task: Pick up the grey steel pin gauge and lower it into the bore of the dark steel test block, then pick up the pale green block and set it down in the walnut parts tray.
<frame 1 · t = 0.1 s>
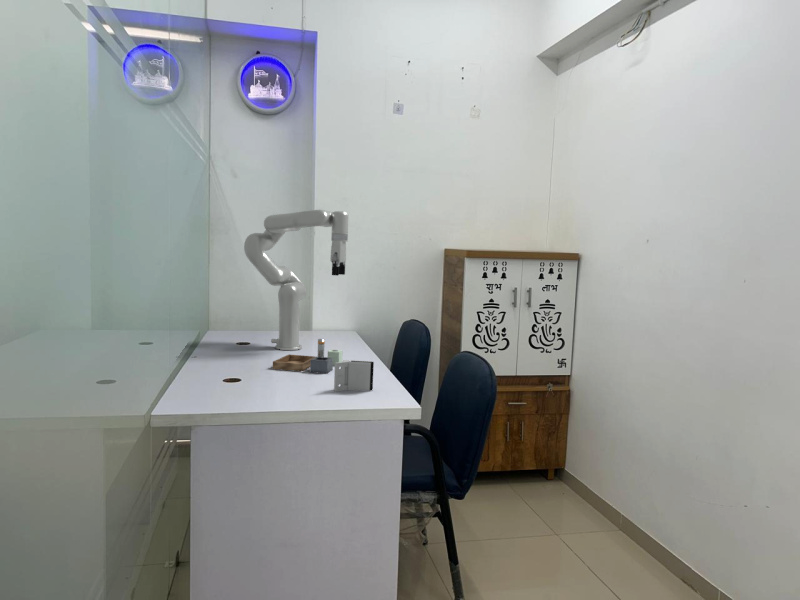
hand: (338, 274, 265), 37 cm above the table, tool pointing down, fingers open, 9 cm apart
hinge: (352, 390, 199), on the table
tray: (295, 366, 234), on the table
test block: (321, 371, 227), on the table
pin gauge: (320, 362, 243), on the table
pale green block: (334, 364, 240), on the table
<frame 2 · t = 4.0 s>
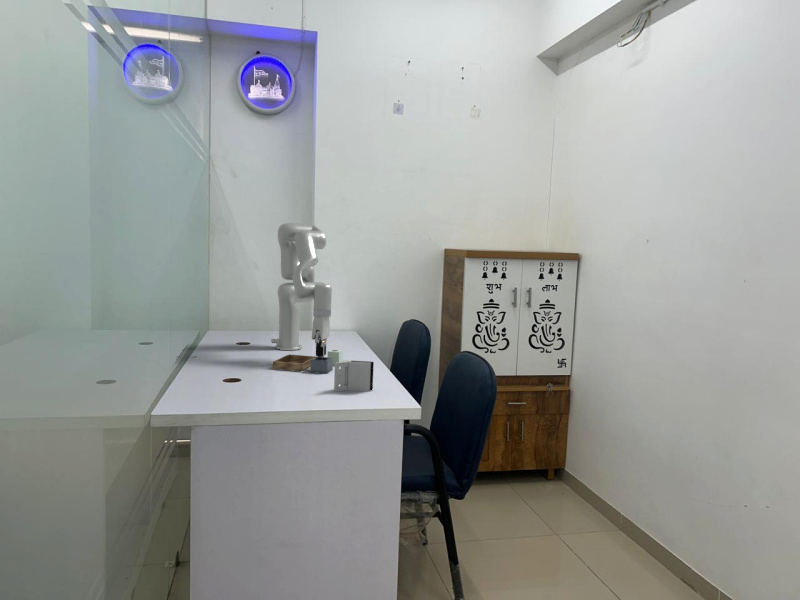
hand: (320, 355, 243), 3 cm above the table, tool pointing down, fingers closed on pin gauge, 2 cm apart
pin gauge: (320, 362, 243), on the table, touching gripper
everything else where it was.
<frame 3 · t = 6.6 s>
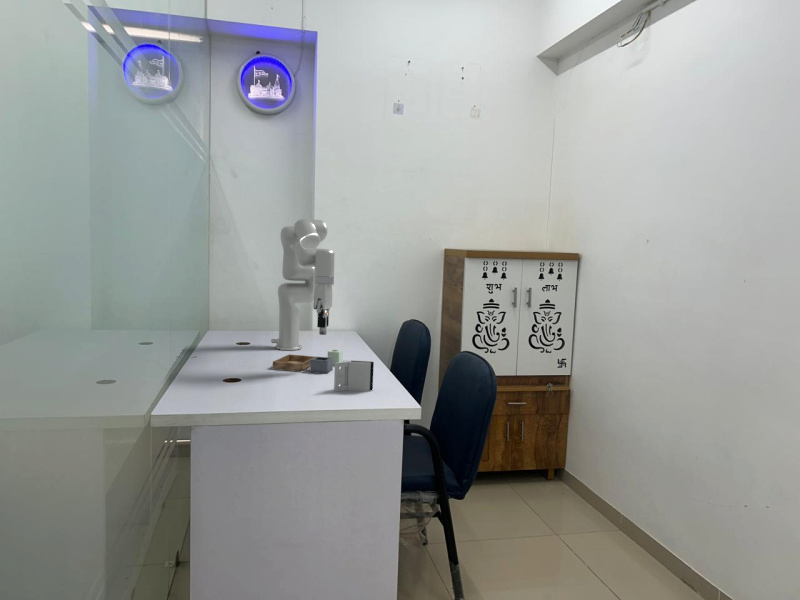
hand: (322, 326, 225), 18 cm above the table, tool pointing down, fingers closed on pin gauge, 2 cm apart
pin gauge: (322, 334, 225), point 15 cm above the table, touching gripper
everything else where it was.
when the fingers open (6 cm above the table, at t = 9.5 s): pin gauge drops 2 cm, resting in test block.
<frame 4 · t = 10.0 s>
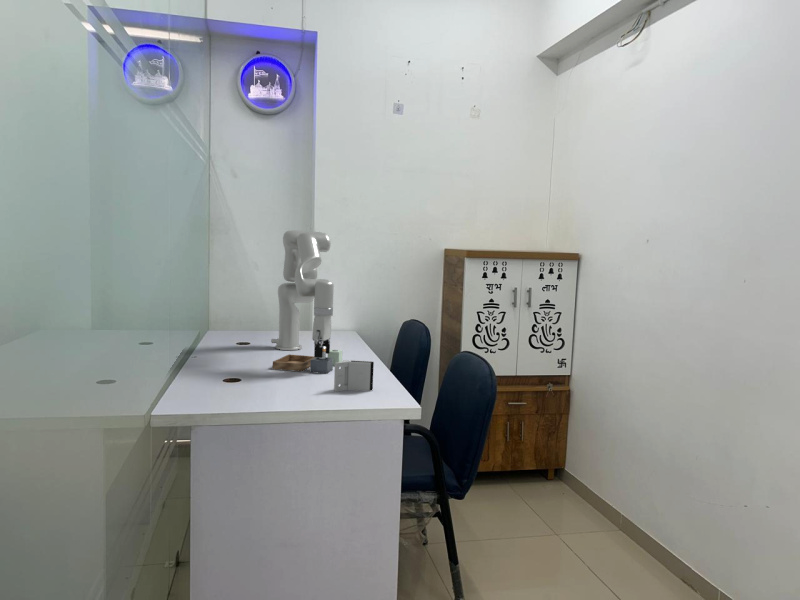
hand: (322, 355, 226), 7 cm above the table, tool pointing down, fingers open, 8 cm apart
pin gauge: (321, 371, 227), resting in test block
everything else where it was.
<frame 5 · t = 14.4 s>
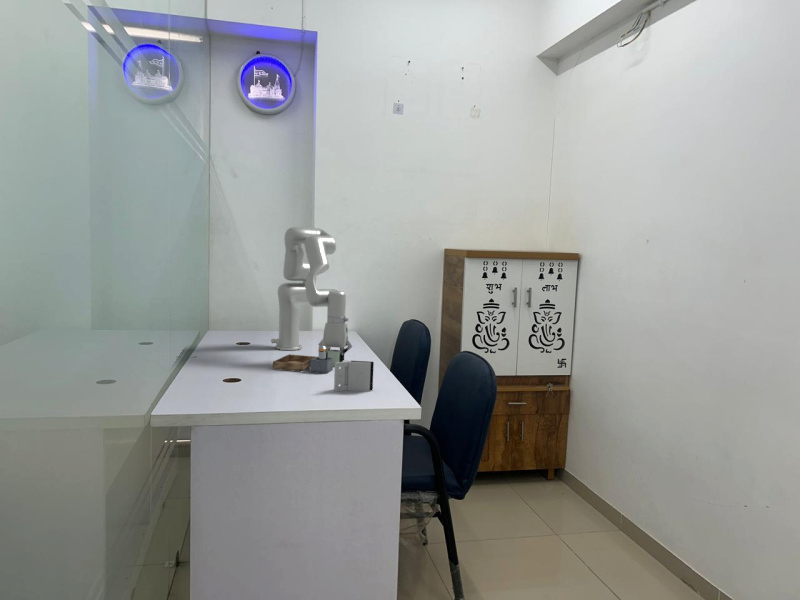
hand: (334, 362, 240), 1 cm above the table, tool pointing down, fingers closed on pale green block, 5 cm apart
pale green block: (334, 364, 240), on the table, touching gripper
everything else where it was.
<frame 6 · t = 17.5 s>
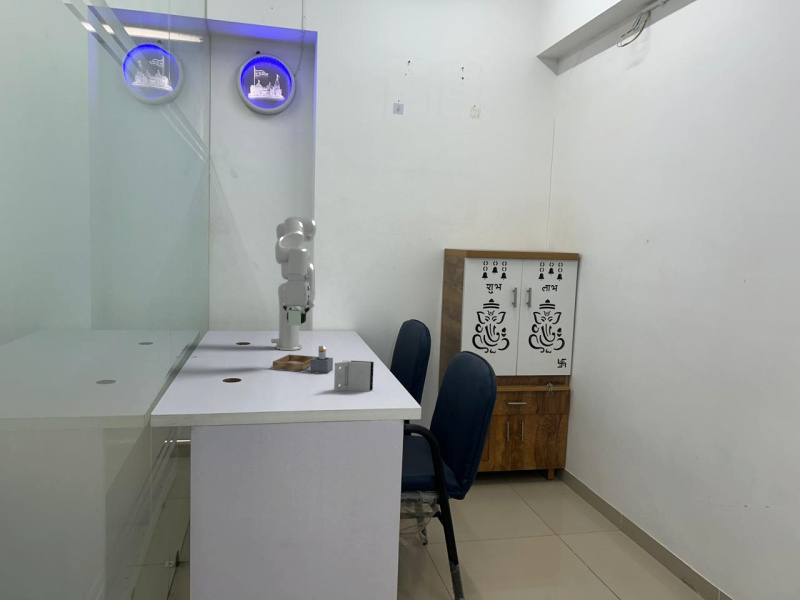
hand: (296, 322, 232), 18 cm above the table, tool pointing down, fingers closed on pale green block, 5 cm apart
pale green block: (296, 324, 232), point 17 cm above the table, touching gripper
everything else where it was.
when the fingers open (3 cm above the table, at t = 20.6 s): pale green block drops 1 cm, resting on tray.
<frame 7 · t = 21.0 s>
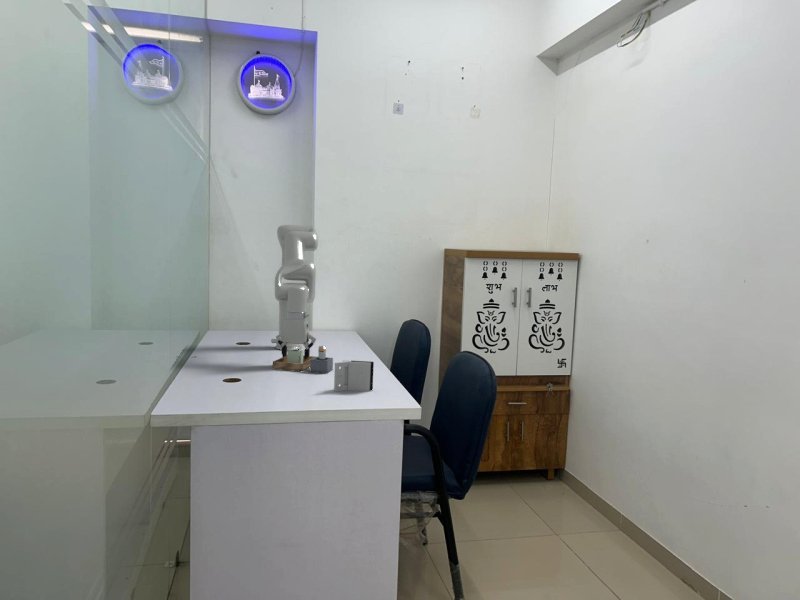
hand: (295, 357, 233), 4 cm above the table, tool pointing down, fingers open, 9 cm apart
pale green block: (295, 364, 234), point 1 cm above the table, touching tray
everything else where it was.
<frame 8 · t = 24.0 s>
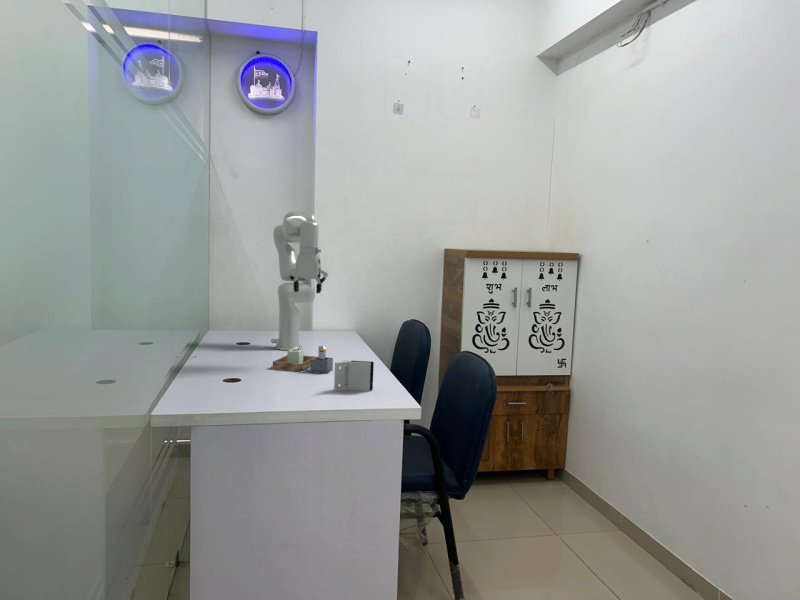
hand: (307, 292, 237), 30 cm above the table, tool pointing down, fingers open, 9 cm apart
nothing on the table moved.
at the end: pale green block inside the target area on the tray (0.0 cm from its centre), point 0.6 cm above the tray's base; pin gauge 0.0 cm off-centre on the test block, point 0.0 cm above the test block's base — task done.
